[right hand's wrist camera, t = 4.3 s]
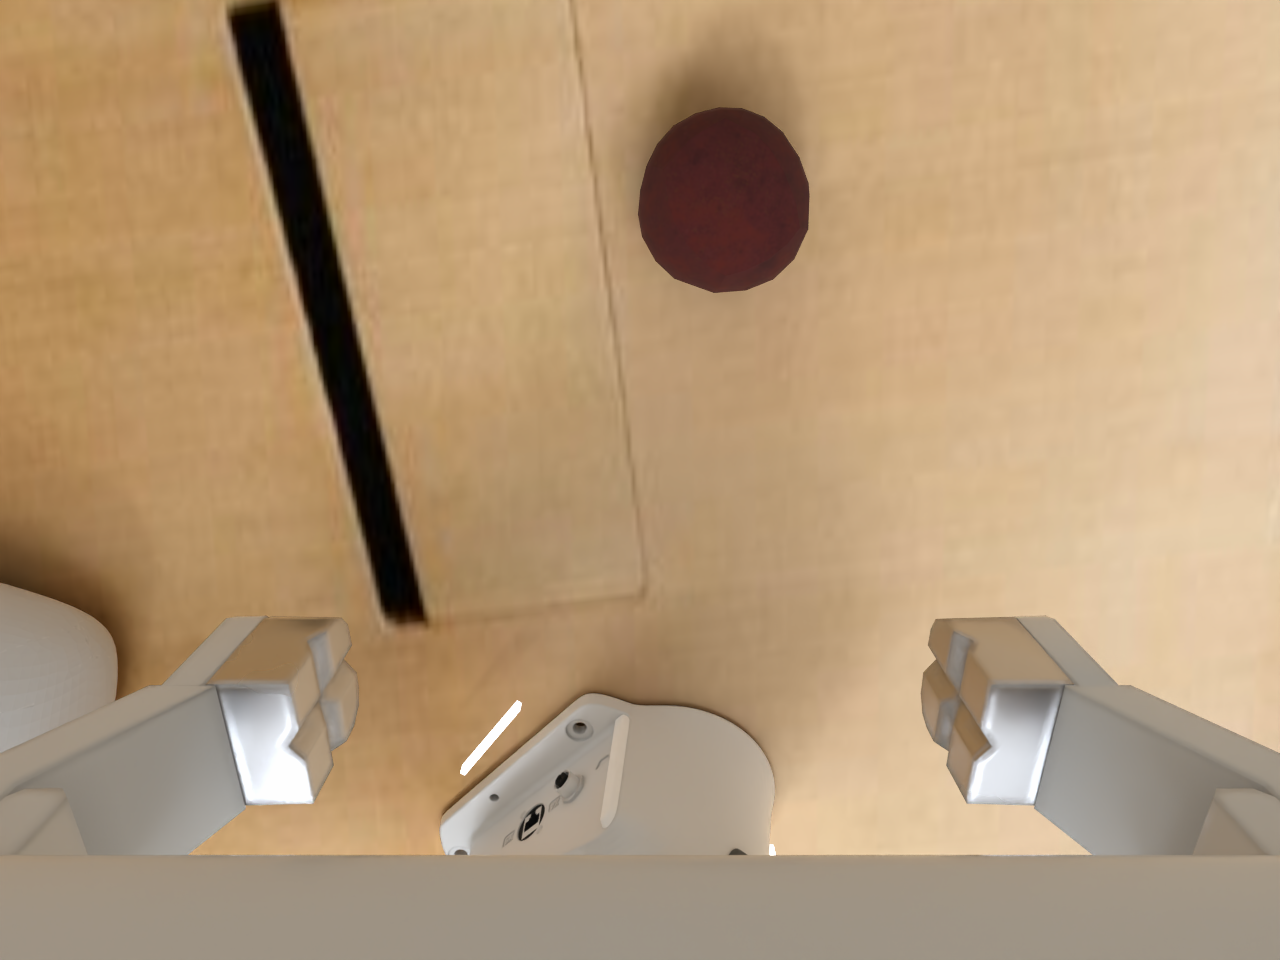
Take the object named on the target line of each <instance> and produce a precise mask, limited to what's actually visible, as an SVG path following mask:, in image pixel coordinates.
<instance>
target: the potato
mask: <svg viewBox="0 0 1280 960" xmlns="http://www.w3.org/2000/svg"><path fill="white" fill-rule="evenodd" d="M638 216H639V222H640V227H641V233H642V237H643V239H644V241H645V243H646V244H647V246H648V248H649V250H650V252H651V253H652V255H653V257H654V259H655V261H656V262H657V263H658V264H659V265H661V266H662V267H663V268H664V269H665V270H666V271H667V272H668V273H669V274H670V275H671V276H672V277H673V278H674V279H677V280H680V281H683V282H685V283H688V284H691V285H694V286H697V287H699V288H702V289H705V290H708V291H711V292H713V293H718V292H730V291H743V290H748V289H750V288H753V287H755V286H758V285H760V284H763V283H765V282H768V281H770V280H773V279H774V278H775V277H776V276H777V275H778V274H779V273H780V272H781V271H782V270H783V269H784V268H785V267H786V266H787V265H789V264H790V263H791V262H792V261H793V260H794V258H795V256H796V254H797V252H798V250H799V248H800V245H801V243H802V241H803V239H804V237H805V235H806V232H807V230H808V219H809V184H808V181H807V178H806V175H805V172H804V169H803V167H802V164H801V161H800V158H799V156H798V155H797V153H796V152H795V150H794V149H793V147H792V146H791V144H790V143H789V141H788V140H787V138H786V137H785V135H784V134H783V132H782V131H781V130H779V129H778V128H777V127H776V126H775V125H773V124H772V123H771V122H770V121H768V120H767V119H766V118H765V117H763V116H760V115H758V114H755V113H753V112H750V111H748V110H745V109H742V108H715V109H711V110H707V111H703V112H699V113H695V114H694V115H692V116H690V117H688V118H687V119H685V120H683V121H681V122H679V123H678V124H676V125H674V126H673V127H672V128H671V129H670V130H669V131H668V133H667V134H666V135H665V136H664V137H663V138H662V139H661V141H660V142H659V143H658V144H657V146H656V148H655V150H654V152H653V154H652V156H651V158H650V160H649V162H648V164H647V166H646V170H645V174H644V178H643V182H642V186H641V190H640V200H639V211H638Z"/></svg>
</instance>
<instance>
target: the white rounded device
mask: <svg viewBox="0 0 1280 960" xmlns="http://www.w3.org/2000/svg"><path fill="white" fill-rule="evenodd" d="M117 679H118V659H117V652H116V646H115V644H114V641H113V639H112V636H111V635H110V633H109V632H108V630H107V629H106V628H105V627H104V626H103V625H102V624H101V623H100V622H99V621H97V620H96V619H95V618H93V617H92V616H90V615H89V614H87V613H85V612H83V611H81V610H79V609H77V608H75V607H73V606H70V605H68V604H65V603H63V602H60V601H58V600H55V599H52V598H49V597H46V596H43V595H40V594H37V593H34V592H31V591H27V590H24V589H21V588H17V587H14V586H11V585H7V584H3V583H0V753H2V752H4V751H6V750H8V749H10V748H13V747H15V746H17V745H19V744H21V743H24V742H26V741H28V740H30V739H32V738H35V737H37V736H39V735H41V734H43V733H46V732H48V731H50V730H52V729H54V728H57V727H59V726H61V725H63V724H65V723H68V722H70V721H72V720H74V719H76V718H79V717H81V716H83V715H85V714H87V713H90V712H92V711H94V710H96V709H98V708H101V707H103V706H105V705H107V704H109V703H112V702H114V701H115V698H116V690H117Z"/></svg>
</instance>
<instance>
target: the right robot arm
mask: <svg viewBox="0 0 1280 960" xmlns="http://www.w3.org/2000/svg"><path fill="white" fill-rule="evenodd" d="M351 646H352V643H351V638H350V633H349V628H348V624H347V623H346V622H345V621H344V620H343V619H342V618H328V617H277V616H272V617H268V616H235V617H231V618H226V619H225V620H224V621H223V622H222V623H221V624H220V625H219V626H218V627H217V628H216V629H215V631H214V632H213V633H212V634H211V635H210V636H209V637H208V638H207V639H206V640H205V641H204V642H203V643H202V644H201V645H200V646H199V647H198V648H197V649H196V650H195V651H194V652H193V653H192V654H191V655H190V656H189V657H188V658H187V659H186V660H185V661H184V662H183V663H182V665H181V666H180V667H179V668H178V669H177V670H176V671H175V672H174V673H173V674H172V675H171V676H170V677H169V678H168V679H167V680H166V681H165V682H164V683H163V684H162V685H149V686H147V687H145V688H142V689H140V690H138V691H136V692H134V693H131V694H129V695H127V696H125V697H123V698H120V699H118V700H116V701H114V702H112V703H109V704H107V705H105V706H103V707H101V708H98V709H96V710H94V711H92V712H90V713H87V714H85V715H83V716H81V717H79V718H76V719H74V720H72V721H70V722H68V723H65V724H63V725H61V726H59V727H57V728H54V729H52V730H50V731H48V732H46V733H43V734H41V735H39V736H37V737H35V738H32V739H30V740H28V741H26V742H24V743H21V744H19V745H17V746H15V747H13V748H10V749H8V750H6V751H4V752H2V753H0V960H1280V753H1278V752H1276V751H1274V750H1271V749H1269V748H1267V747H1265V746H1263V745H1260V744H1258V743H1256V742H1254V741H1252V740H1249V739H1247V738H1245V737H1243V736H1241V735H1238V734H1236V733H1234V732H1232V731H1230V730H1227V729H1225V728H1223V727H1221V726H1219V725H1217V724H1214V723H1212V722H1210V721H1208V720H1206V719H1203V718H1201V717H1199V716H1197V715H1195V714H1192V713H1190V712H1188V711H1186V710H1184V709H1181V708H1179V707H1177V706H1175V705H1173V704H1170V703H1168V702H1166V701H1164V700H1162V699H1159V698H1157V697H1155V696H1153V695H1151V694H1149V693H1146V692H1144V691H1142V690H1140V689H1138V688H1135V687H1133V686H1131V685H1118V684H1117V683H1116V682H1115V681H1114V680H1113V679H1112V678H1111V677H1110V676H1109V675H1108V674H1107V673H1106V672H1105V671H1104V670H1103V669H1102V668H1101V667H1100V665H1099V664H1098V663H1097V662H1096V661H1095V660H1094V659H1093V658H1092V657H1091V656H1090V655H1089V654H1088V653H1087V652H1086V651H1085V650H1084V649H1083V648H1082V647H1081V646H1080V645H1079V644H1078V643H1077V642H1076V641H1075V640H1074V639H1073V638H1072V637H1071V635H1070V634H1069V633H1068V632H1067V631H1066V630H1065V629H1064V628H1063V627H1062V626H1061V625H1060V624H1059V623H1058V622H1057V621H1056V620H1055V619H1053V618H1050V617H1048V616H1021V617H992V618H952V619H936V620H935V622H934V624H933V626H932V628H931V631H930V637H929V642H928V646H929V648H930V649H931V651H932V653H933V654H934V656H935V657H936V660H935V661H934V662H933V663H932V664H931V665H930V666H929V667H928V668H927V669H926V670H925V671H924V672H923V680H922V688H921V702H922V713H923V716H924V720H925V723H926V727H927V729H928V731H929V733H930V735H931V737H932V739H933V741H934V742H936V743H937V744H939V745H940V746H942V747H943V748H945V749H946V750H948V751H949V753H948V759H947V765H946V766H947V767H948V769H949V771H950V773H951V775H952V777H953V779H954V780H955V782H956V784H957V786H958V788H959V790H960V792H961V793H962V795H963V797H964V799H965V801H966V803H968V804H1005V805H1035V807H1034V809H1036V810H1037V811H1038V812H1039V813H1041V814H1042V815H1043V816H1044V817H1046V818H1047V819H1048V820H1049V821H1051V822H1052V823H1053V824H1054V825H1056V826H1057V827H1058V828H1060V829H1061V830H1062V831H1063V832H1065V833H1066V834H1067V835H1068V836H1070V837H1071V838H1072V839H1073V840H1075V841H1076V842H1077V843H1078V844H1080V845H1081V846H1082V847H1083V848H1085V849H1086V850H1087V851H1088V852H1090V853H1091V854H1092V855H775V850H774V845H770V827H771V815H772V808H773V804H774V797H775V782H774V776H773V772H772V769H771V766H770V764H769V761H768V759H767V757H766V756H765V754H764V752H763V751H762V749H761V748H760V747H759V745H758V744H757V743H756V742H755V741H754V740H753V739H752V738H751V737H750V736H749V735H748V734H747V733H746V732H745V731H743V730H742V729H741V728H739V727H738V726H736V725H735V724H733V723H731V722H730V721H728V720H726V719H724V718H722V717H719V716H717V715H715V714H712V713H709V712H706V711H703V710H699V709H694V708H689V707H683V706H671V705H636V704H631V703H628V702H626V701H623V700H620V699H617V698H614V697H611V696H607V695H603V694H597V693H589V694H585V695H583V696H581V697H579V698H578V699H577V700H575V701H574V702H573V703H572V704H571V705H570V706H568V707H567V708H566V709H565V710H564V711H563V712H561V713H560V714H559V715H558V716H557V717H556V718H554V719H553V720H552V721H551V722H550V723H549V724H547V725H546V726H545V727H544V728H543V729H542V730H540V731H539V732H538V733H537V734H536V735H535V736H533V737H532V738H531V739H530V740H529V741H528V742H526V743H525V744H524V745H523V746H522V747H521V748H519V749H518V750H517V751H516V752H515V753H514V754H512V755H511V756H510V757H509V758H508V759H507V760H506V761H504V762H503V763H502V764H501V765H500V766H499V767H497V768H496V769H495V770H494V771H493V772H492V773H490V774H489V775H488V776H487V777H486V778H485V779H483V780H482V781H481V782H480V783H479V784H478V785H476V786H475V787H474V788H473V789H472V790H471V791H469V792H468V793H467V794H466V795H465V796H464V797H462V798H461V799H460V800H459V801H458V802H457V803H455V804H454V805H453V806H452V807H451V808H450V809H449V810H447V811H446V813H445V814H444V815H443V816H442V818H441V823H440V830H439V831H440V838H441V843H442V847H443V849H444V852H445V854H446V855H188V854H189V853H191V852H192V851H193V850H194V849H196V848H197V847H198V846H199V845H201V844H202V843H203V842H204V841H206V840H207V839H208V838H209V837H211V836H212V835H213V834H214V833H216V832H217V831H218V830H219V829H221V828H222V827H223V826H225V825H226V824H227V823H228V822H230V821H231V820H232V819H233V818H235V817H236V816H237V815H238V814H240V813H241V812H242V811H243V810H245V808H246V807H245V805H274V804H310V803H314V801H315V799H316V797H317V795H318V793H319V792H320V790H321V788H322V786H323V784H324V782H325V780H326V779H327V777H328V775H329V773H330V771H331V769H332V767H333V766H334V765H333V759H332V753H331V751H332V750H334V749H335V748H337V747H338V746H340V745H341V744H343V743H344V742H346V741H347V739H348V737H349V735H350V733H351V731H352V729H353V727H354V724H355V719H356V715H357V710H358V706H359V685H358V679H357V672H356V671H355V670H354V669H353V668H352V667H351V666H350V665H349V664H348V663H347V662H346V661H345V660H344V657H345V656H346V654H347V653H348V651H349V649H350V648H351ZM521 704H522V703H520V702H519V701H516V703H515V704H514V705H513V706H512V707H511V708H510V710H509V711H508V712H507V713H506V714H505V715H504V717H503V718H502V719H501V720H500V721H499V723H498V724H497V725H496V726H495V727H494V728H493V730H492V731H491V732H490V733H489V734H488V735H487V737H486V738H485V739H484V740H483V741H482V743H481V744H480V745H479V746H478V747H477V748H476V750H475V751H474V752H473V753H472V754H471V755H470V757H469V758H468V759H467V760H466V761H465V762H464V764H463V765H462V768H461V772H460V773H461V774H463V775H465V774H466V773H467V772H468V771H469V770H470V768H471V767H472V766H473V765H474V764H475V763H476V761H477V760H478V759H479V758H480V757H481V756H482V754H483V753H484V752H485V751H486V750H487V749H488V747H489V746H490V745H491V744H492V743H493V742H494V740H495V739H496V738H497V737H498V736H499V735H500V733H501V732H502V731H503V730H504V729H505V728H506V726H507V725H508V724H509V723H510V722H511V721H512V719H513V718H514V717H515V716H516V715H517V714H518V712H519V711H520V708H521ZM579 722H580V723H584V724H585V725H583V726H578V725H576V723H579Z"/></svg>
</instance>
